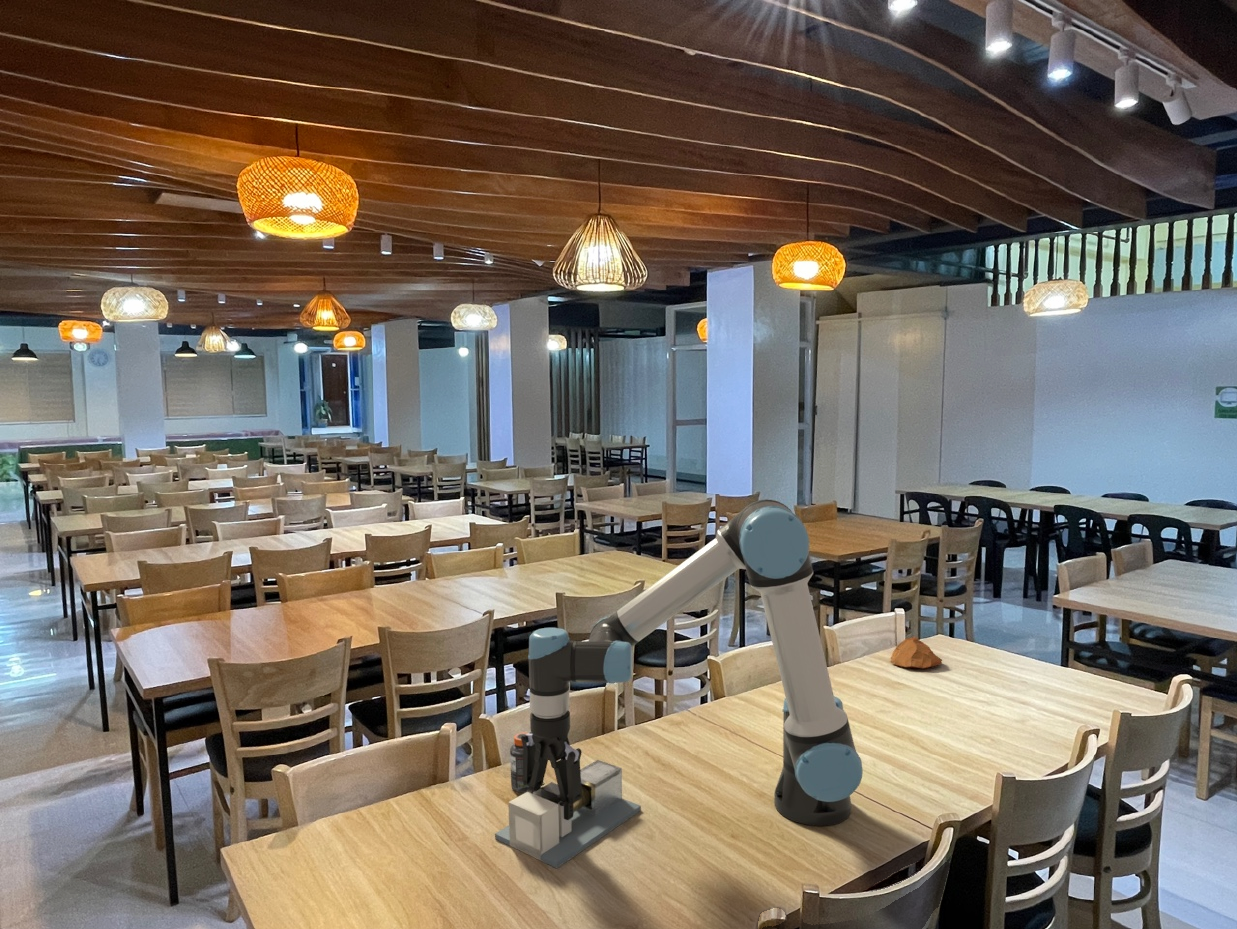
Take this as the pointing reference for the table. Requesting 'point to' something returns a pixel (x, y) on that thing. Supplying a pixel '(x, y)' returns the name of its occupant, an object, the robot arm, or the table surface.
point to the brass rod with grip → (554, 796)
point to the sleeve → (602, 785)
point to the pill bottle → (517, 765)
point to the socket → (533, 824)
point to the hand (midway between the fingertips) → (552, 827)
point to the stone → (914, 654)
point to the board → (582, 831)
